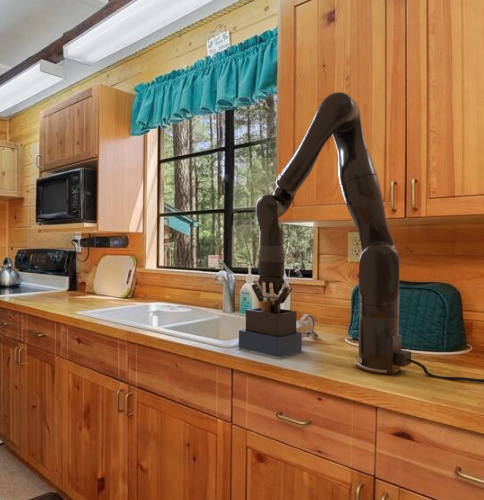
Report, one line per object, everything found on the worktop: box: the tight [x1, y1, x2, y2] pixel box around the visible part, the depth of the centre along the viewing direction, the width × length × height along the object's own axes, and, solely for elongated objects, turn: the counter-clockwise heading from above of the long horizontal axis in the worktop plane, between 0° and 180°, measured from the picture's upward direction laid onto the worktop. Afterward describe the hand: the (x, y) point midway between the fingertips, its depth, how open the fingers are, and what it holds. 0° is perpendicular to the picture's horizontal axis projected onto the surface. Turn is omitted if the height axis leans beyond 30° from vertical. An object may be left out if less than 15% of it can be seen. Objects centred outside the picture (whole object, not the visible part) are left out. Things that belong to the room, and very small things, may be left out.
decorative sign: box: [296, 313, 319, 340], centre depth 145 cm, size 18×1×10 cm, turn 129°
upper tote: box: [245, 300, 298, 338], centre depth 133 cm, size 12×10×11 cm
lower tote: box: [238, 328, 303, 358], centre depth 133 cm, size 14×12×6 cm
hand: (270, 316), depth 133 cm, fingers closed on upper tote, 1 cm apart
